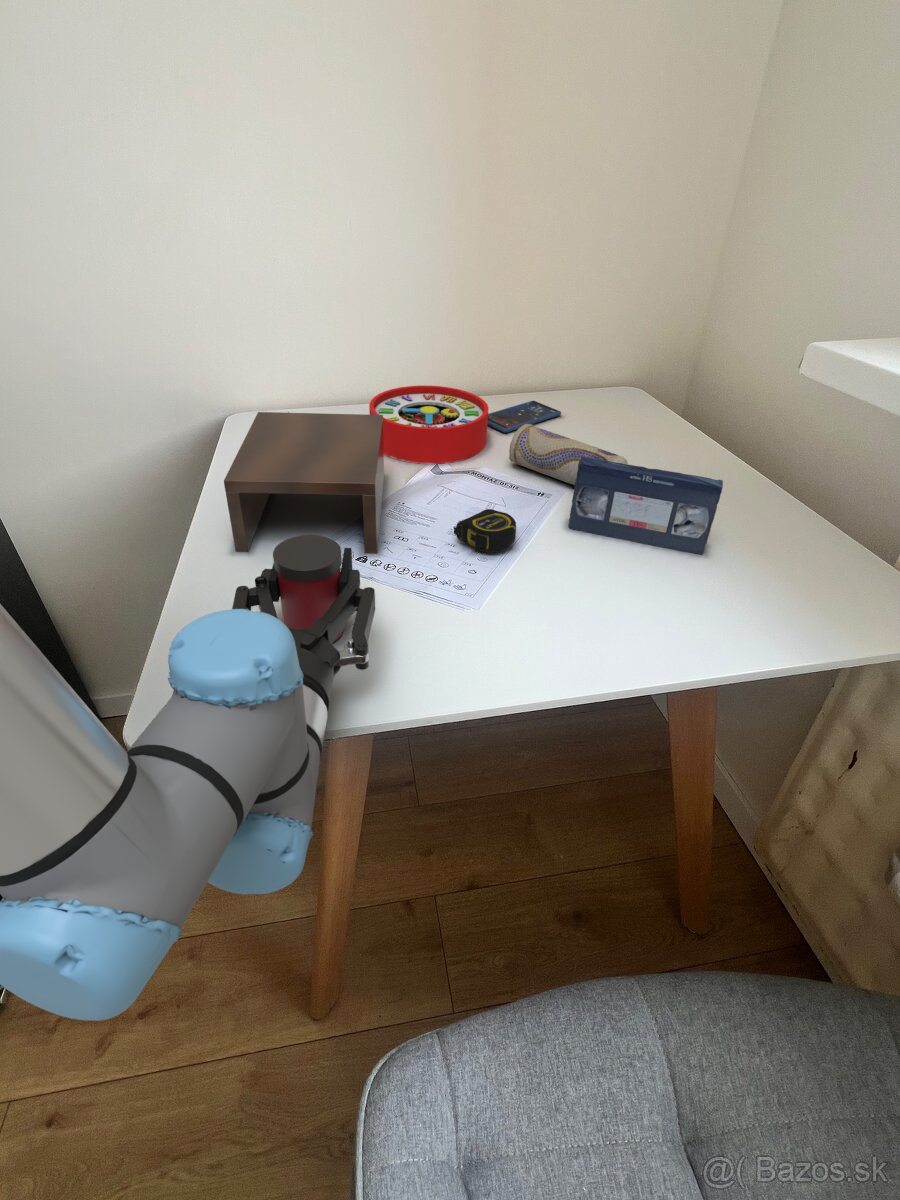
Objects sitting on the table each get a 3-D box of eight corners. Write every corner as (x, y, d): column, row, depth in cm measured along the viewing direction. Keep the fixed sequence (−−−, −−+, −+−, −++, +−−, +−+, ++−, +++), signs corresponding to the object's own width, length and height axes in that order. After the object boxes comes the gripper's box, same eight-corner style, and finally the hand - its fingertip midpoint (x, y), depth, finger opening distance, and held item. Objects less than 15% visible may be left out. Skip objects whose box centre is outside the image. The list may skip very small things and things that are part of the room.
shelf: (235, 551, 89) (223, 480, 83) (266, 474, 107) (257, 411, 101) (377, 553, 90) (375, 483, 84) (384, 477, 108) (382, 414, 102)
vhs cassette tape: (566, 528, 97) (577, 462, 91) (571, 519, 99) (581, 454, 93) (703, 557, 92) (723, 489, 86) (704, 546, 94) (724, 479, 88)
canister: (277, 648, 73) (267, 569, 68) (287, 609, 79) (278, 533, 73) (342, 649, 74) (337, 570, 68) (348, 610, 79) (344, 534, 73)
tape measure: (488, 526, 97) (490, 502, 94) (525, 546, 93) (528, 521, 90) (452, 542, 93) (453, 517, 90) (489, 564, 89) (491, 538, 87)
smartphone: (476, 416, 126) (533, 399, 135) (476, 420, 127) (532, 403, 135) (505, 430, 122) (562, 411, 130) (505, 434, 122) (562, 415, 131)
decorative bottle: (503, 469, 111) (507, 429, 107) (529, 455, 116) (534, 417, 112) (651, 525, 98) (661, 482, 95) (674, 507, 103) (684, 465, 99)
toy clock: (484, 387, 125) (493, 430, 109) (482, 418, 128) (490, 465, 112) (372, 383, 124) (364, 427, 108) (373, 415, 128) (366, 462, 111)
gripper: (399, 674, 57) (404, 529, 75) (155, 672, 56) (221, 526, 74) (399, 738, 61) (403, 586, 80) (173, 737, 60) (231, 584, 79)
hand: (316, 557), depth 77 cm, fingers closed on canister, 6 cm apart
